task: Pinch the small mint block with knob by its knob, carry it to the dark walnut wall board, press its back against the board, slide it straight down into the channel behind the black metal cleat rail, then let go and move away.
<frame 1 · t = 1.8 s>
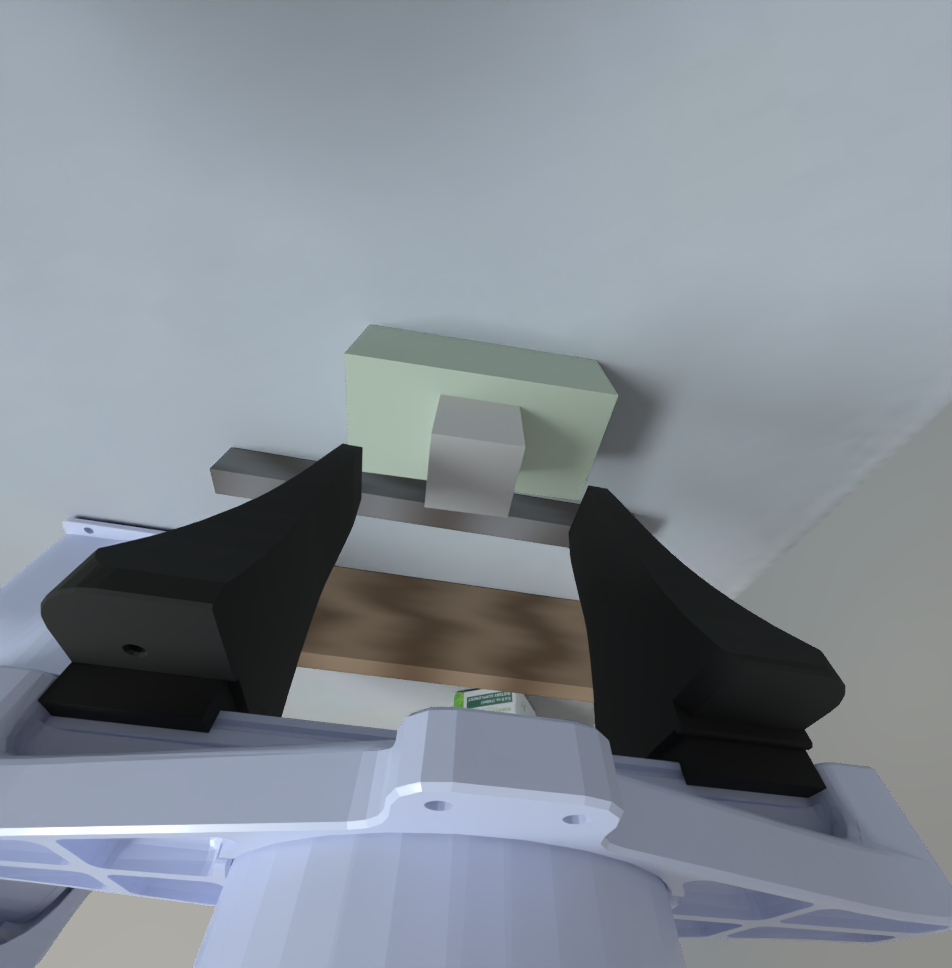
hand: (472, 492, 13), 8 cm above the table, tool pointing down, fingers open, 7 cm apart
mint block with knob: (476, 394, 19), on the table
syrup box: (496, 699, 36), on the table
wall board: (423, 586, 27), on the table
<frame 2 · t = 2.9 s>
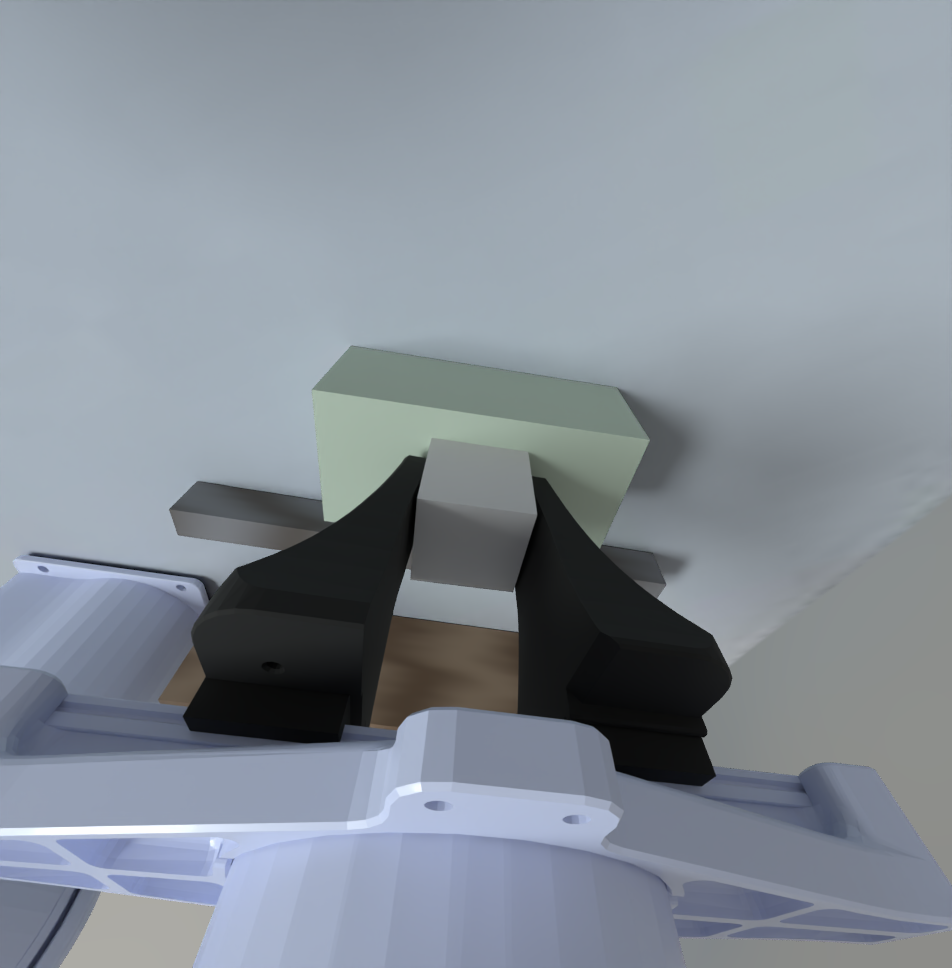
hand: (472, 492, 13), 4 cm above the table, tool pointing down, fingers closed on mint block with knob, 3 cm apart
mint block with knob: (476, 426, 17), on the table, touching gripper
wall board: (417, 626, 25), on the table
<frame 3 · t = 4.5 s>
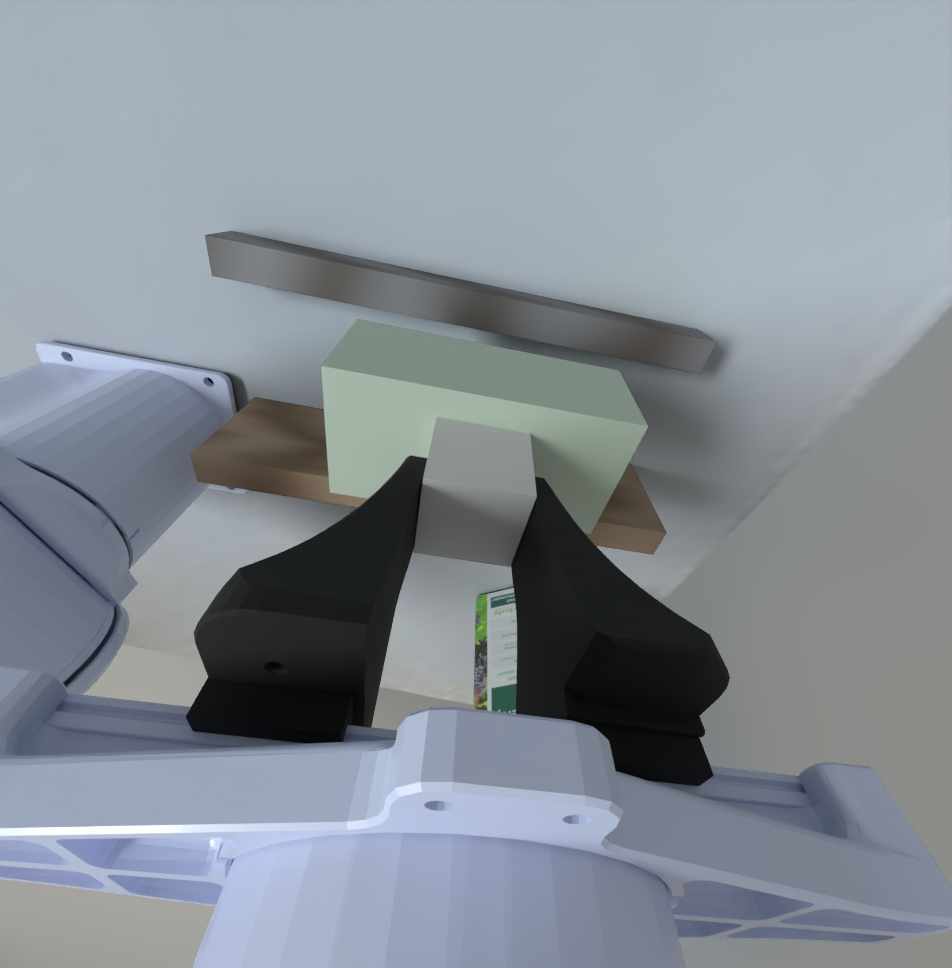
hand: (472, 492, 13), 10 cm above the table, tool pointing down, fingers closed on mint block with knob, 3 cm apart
mint block with knob: (479, 403, 17), point 5 cm above the table, touching gripper
syrup box: (521, 606, 33), on the table
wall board: (448, 443, 24), on the table
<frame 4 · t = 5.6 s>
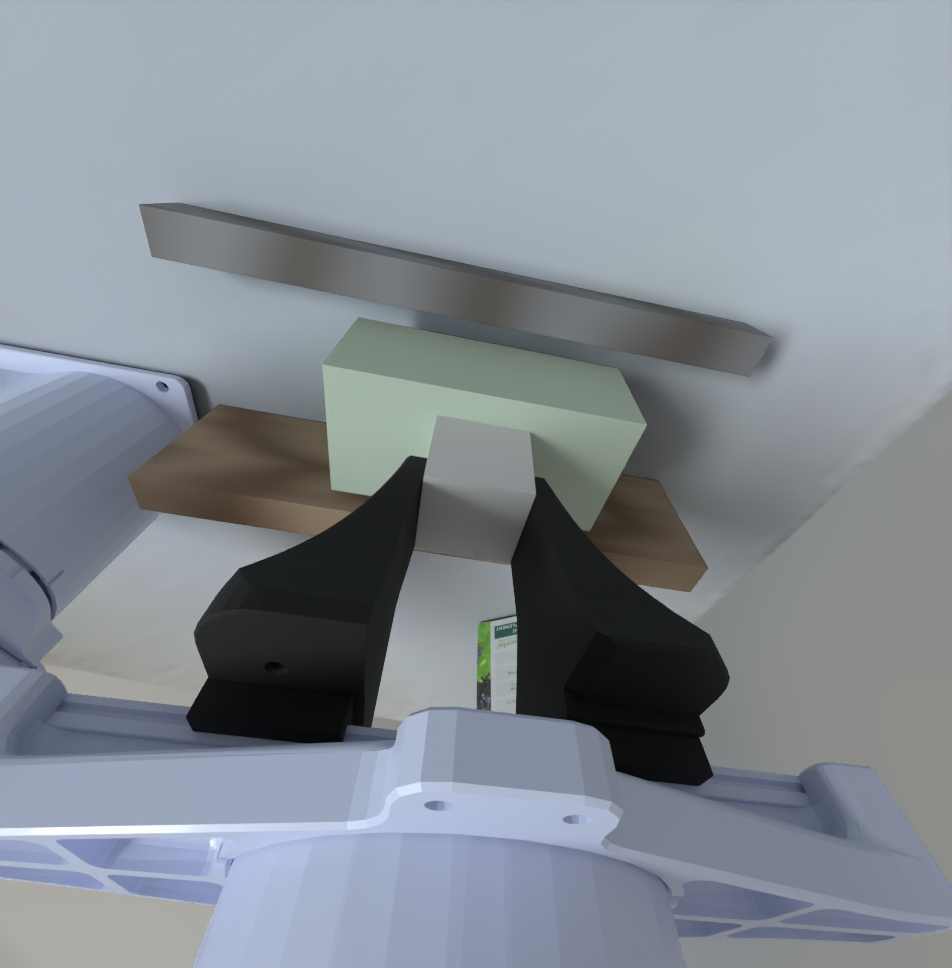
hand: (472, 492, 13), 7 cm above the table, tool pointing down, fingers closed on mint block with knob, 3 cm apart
mint block with knob: (479, 401, 17), point 2 cm above the table, tilted 5°, touching gripper
syrup box: (528, 634, 30), on the table
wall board: (446, 457, 21), on the table
when the fingers open (5 cm above the table, at t = 6.3 s): mint block with knob stays where it is, on the table.
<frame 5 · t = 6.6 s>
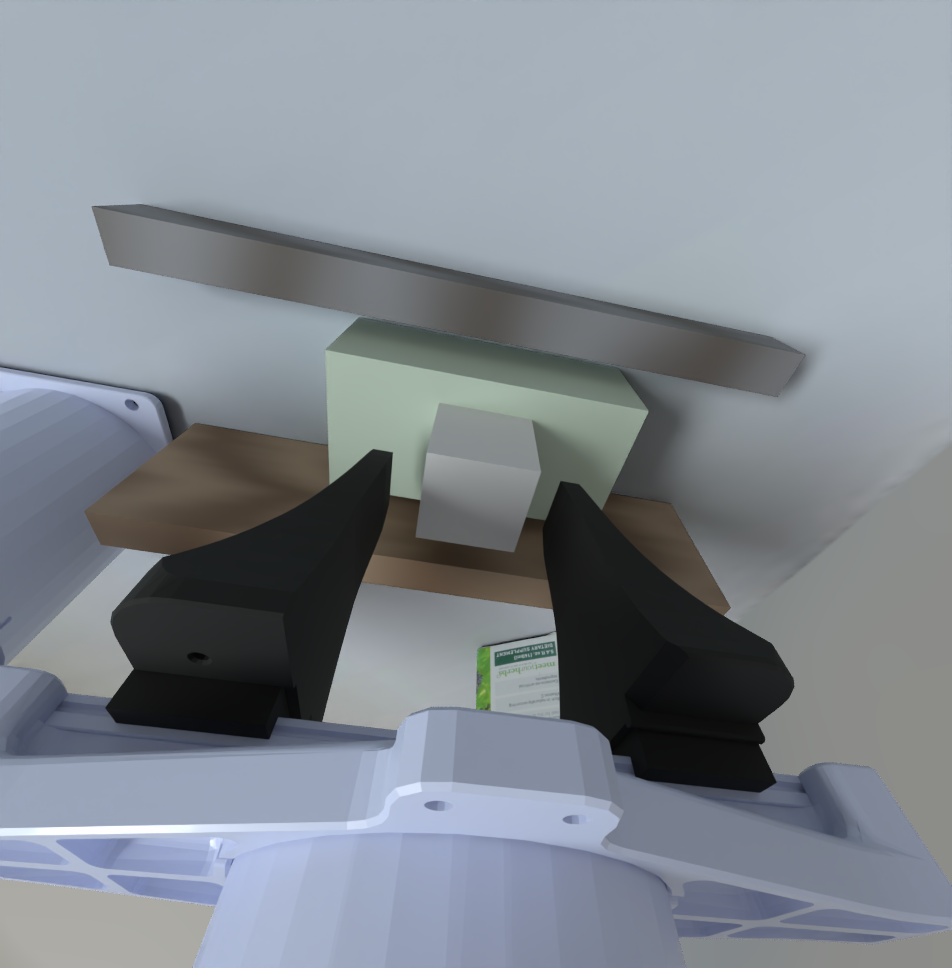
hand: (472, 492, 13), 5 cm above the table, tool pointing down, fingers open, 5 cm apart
mint block with knob: (479, 401, 17), on the table
syrup box: (530, 658, 28), on the table
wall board: (442, 478, 19), on the table
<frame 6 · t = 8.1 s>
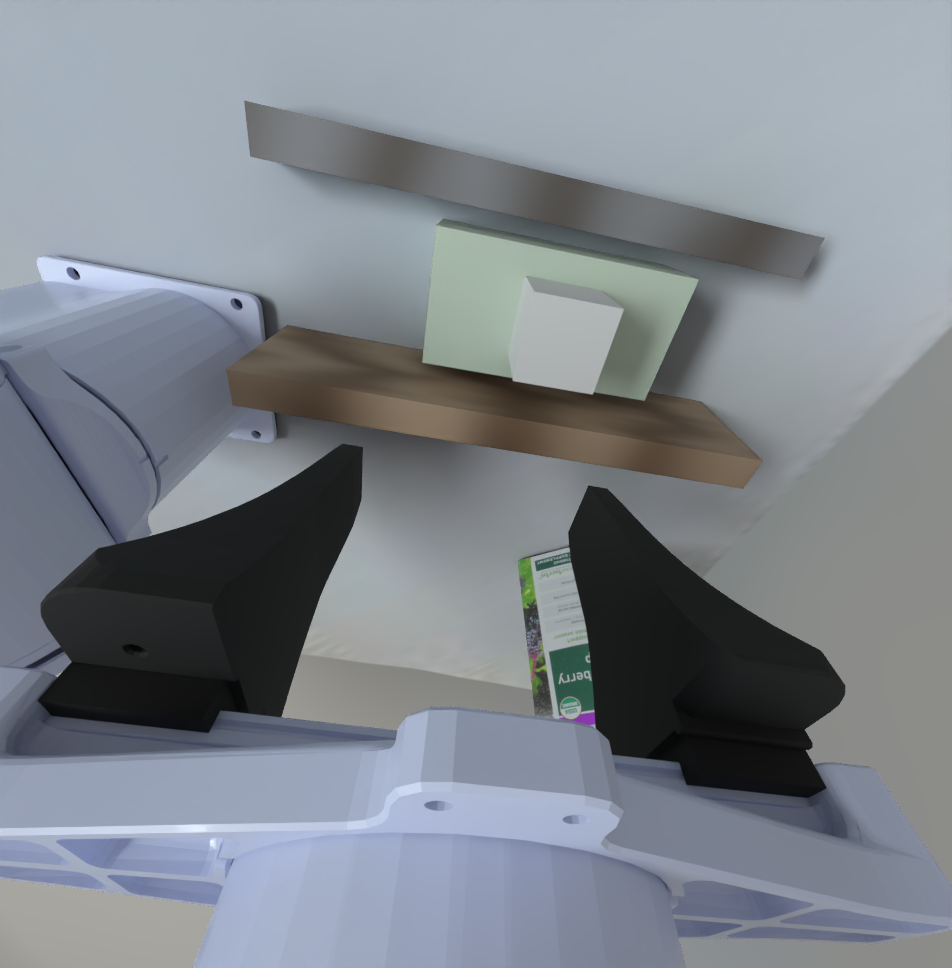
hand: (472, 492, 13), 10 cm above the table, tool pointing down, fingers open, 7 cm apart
mint block with knob: (540, 301, 20), on the table
syrup box: (564, 571, 31), on the table
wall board: (501, 379, 22), on the table
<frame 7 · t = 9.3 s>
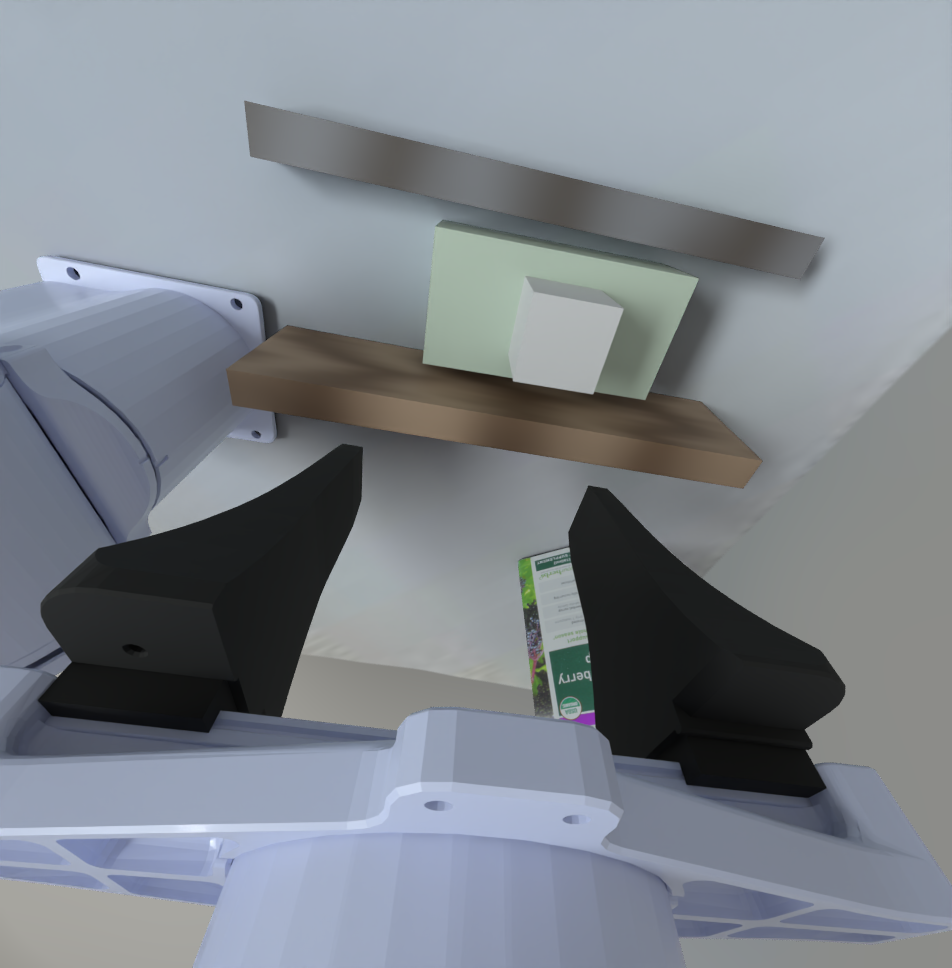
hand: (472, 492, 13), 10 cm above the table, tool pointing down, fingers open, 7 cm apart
mint block with knob: (540, 301, 20), on the table
syrup box: (564, 571, 31), on the table
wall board: (501, 379, 22), on the table
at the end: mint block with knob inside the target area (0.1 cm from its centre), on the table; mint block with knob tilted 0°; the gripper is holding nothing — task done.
